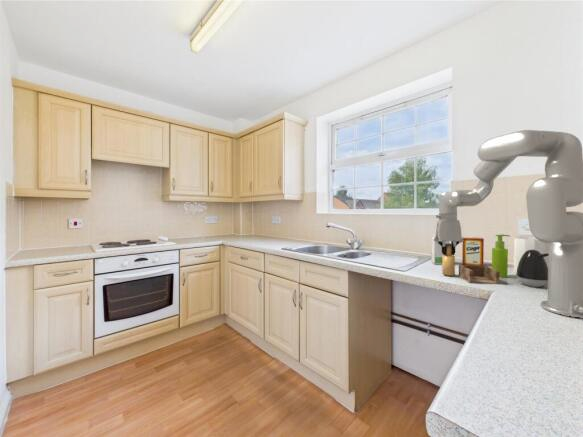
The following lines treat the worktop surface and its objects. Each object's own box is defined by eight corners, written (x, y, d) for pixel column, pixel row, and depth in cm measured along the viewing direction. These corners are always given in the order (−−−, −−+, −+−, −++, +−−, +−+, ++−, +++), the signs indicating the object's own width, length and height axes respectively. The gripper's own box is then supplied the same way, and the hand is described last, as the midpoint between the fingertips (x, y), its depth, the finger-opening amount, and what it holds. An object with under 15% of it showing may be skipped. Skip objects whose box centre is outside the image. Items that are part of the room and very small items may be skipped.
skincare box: (433, 264, 151) (433, 238, 150) (431, 262, 157) (431, 236, 156) (449, 265, 148) (450, 238, 148) (446, 262, 154) (446, 237, 154)
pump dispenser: (538, 290, 102) (539, 252, 101) (510, 283, 112) (510, 248, 111) (556, 287, 104) (557, 250, 104) (527, 281, 114) (527, 247, 114)
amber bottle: (456, 275, 123) (456, 244, 122) (444, 275, 124) (444, 244, 123) (452, 273, 128) (452, 243, 127) (440, 272, 129) (440, 243, 129)
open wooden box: (499, 284, 110) (499, 271, 110) (469, 283, 113) (469, 270, 113) (485, 277, 121) (485, 265, 121) (458, 276, 124) (458, 265, 124)
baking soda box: (463, 264, 148) (463, 237, 147) (462, 262, 154) (462, 236, 153) (483, 266, 143) (483, 238, 142) (481, 264, 149) (482, 236, 148)
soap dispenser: (512, 277, 120) (513, 235, 119) (496, 277, 121) (496, 235, 120) (505, 274, 126) (505, 234, 125) (489, 274, 127) (489, 234, 126)
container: (518, 276, 123) (519, 239, 122) (509, 270, 135) (510, 236, 135) (560, 280, 116) (561, 240, 115) (546, 272, 129) (547, 237, 128)
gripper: (432, 217, 123) (432, 255, 124) (470, 217, 120) (470, 256, 120) (427, 217, 131) (427, 253, 131) (463, 216, 127) (463, 253, 128)
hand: (448, 254), depth 126 cm, fingers closed on amber bottle, 2 cm apart
